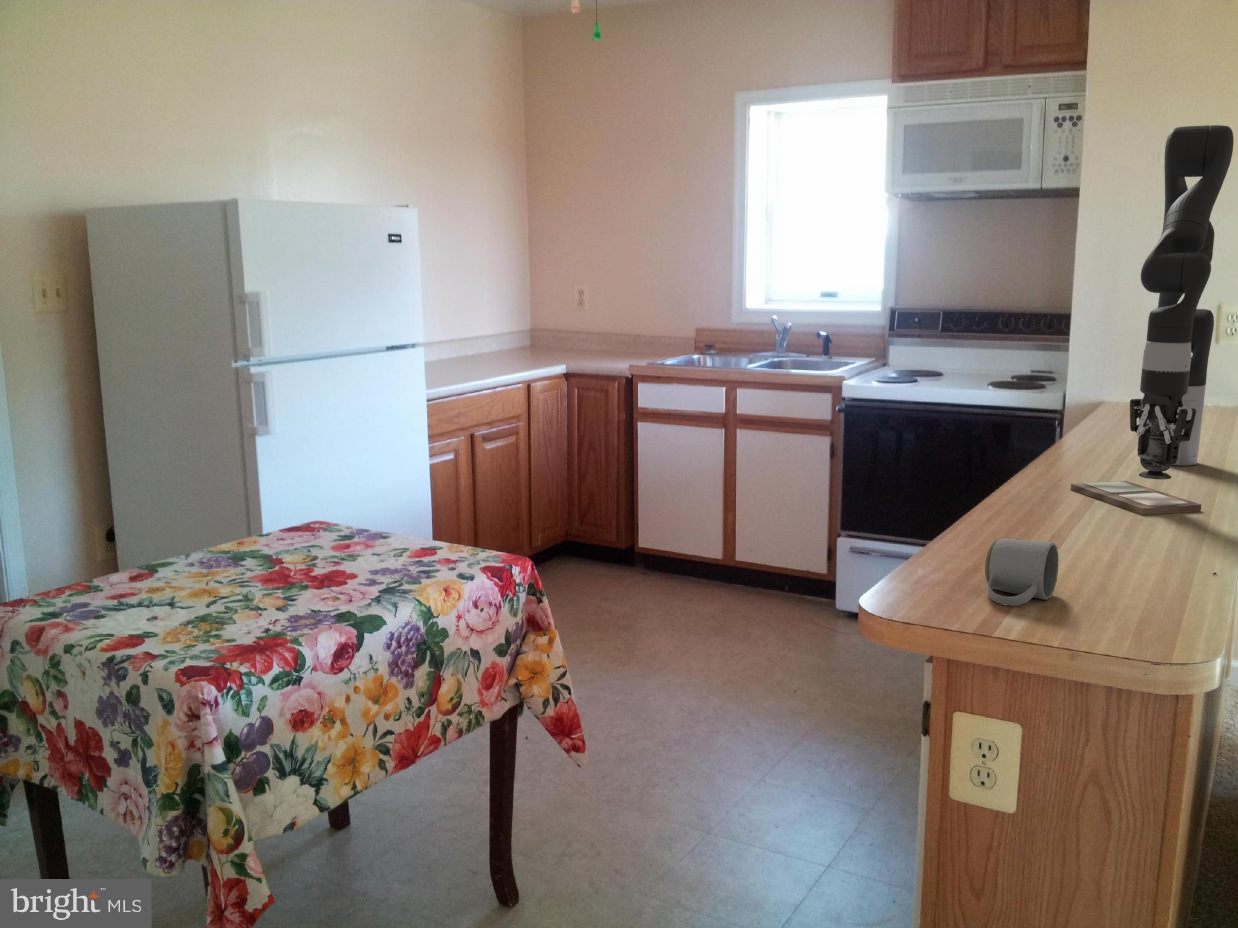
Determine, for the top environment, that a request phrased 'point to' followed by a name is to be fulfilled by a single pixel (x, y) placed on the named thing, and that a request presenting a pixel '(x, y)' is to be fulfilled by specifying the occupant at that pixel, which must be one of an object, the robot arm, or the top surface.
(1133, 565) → the top surface
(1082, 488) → the board
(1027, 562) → the ceramic mug
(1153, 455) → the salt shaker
